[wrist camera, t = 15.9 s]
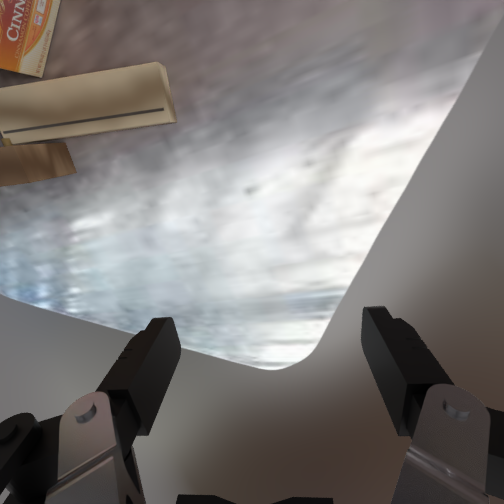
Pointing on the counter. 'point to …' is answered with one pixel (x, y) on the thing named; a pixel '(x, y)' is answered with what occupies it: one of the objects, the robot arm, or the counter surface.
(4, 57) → the coffeecake box
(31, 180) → the brown block with peg
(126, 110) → the board
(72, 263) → the counter surface
